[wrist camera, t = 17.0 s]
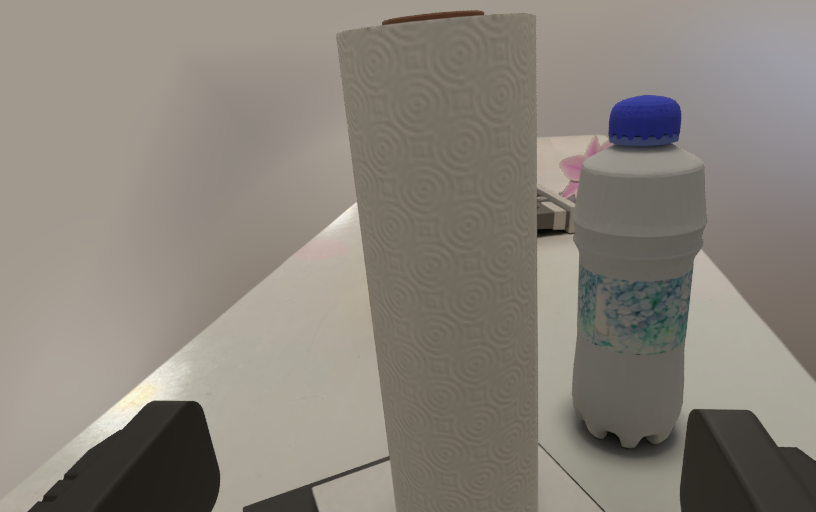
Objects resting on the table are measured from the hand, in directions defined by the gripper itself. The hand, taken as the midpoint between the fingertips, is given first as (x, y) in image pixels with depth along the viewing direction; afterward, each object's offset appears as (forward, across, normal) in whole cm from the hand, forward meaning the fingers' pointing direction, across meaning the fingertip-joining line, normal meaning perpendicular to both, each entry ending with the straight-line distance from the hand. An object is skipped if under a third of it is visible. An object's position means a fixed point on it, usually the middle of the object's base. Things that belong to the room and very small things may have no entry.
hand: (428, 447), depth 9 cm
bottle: (+22, -9, +17) cm, 29 cm away
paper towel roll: (+11, 0, +14) cm, 18 cm away
